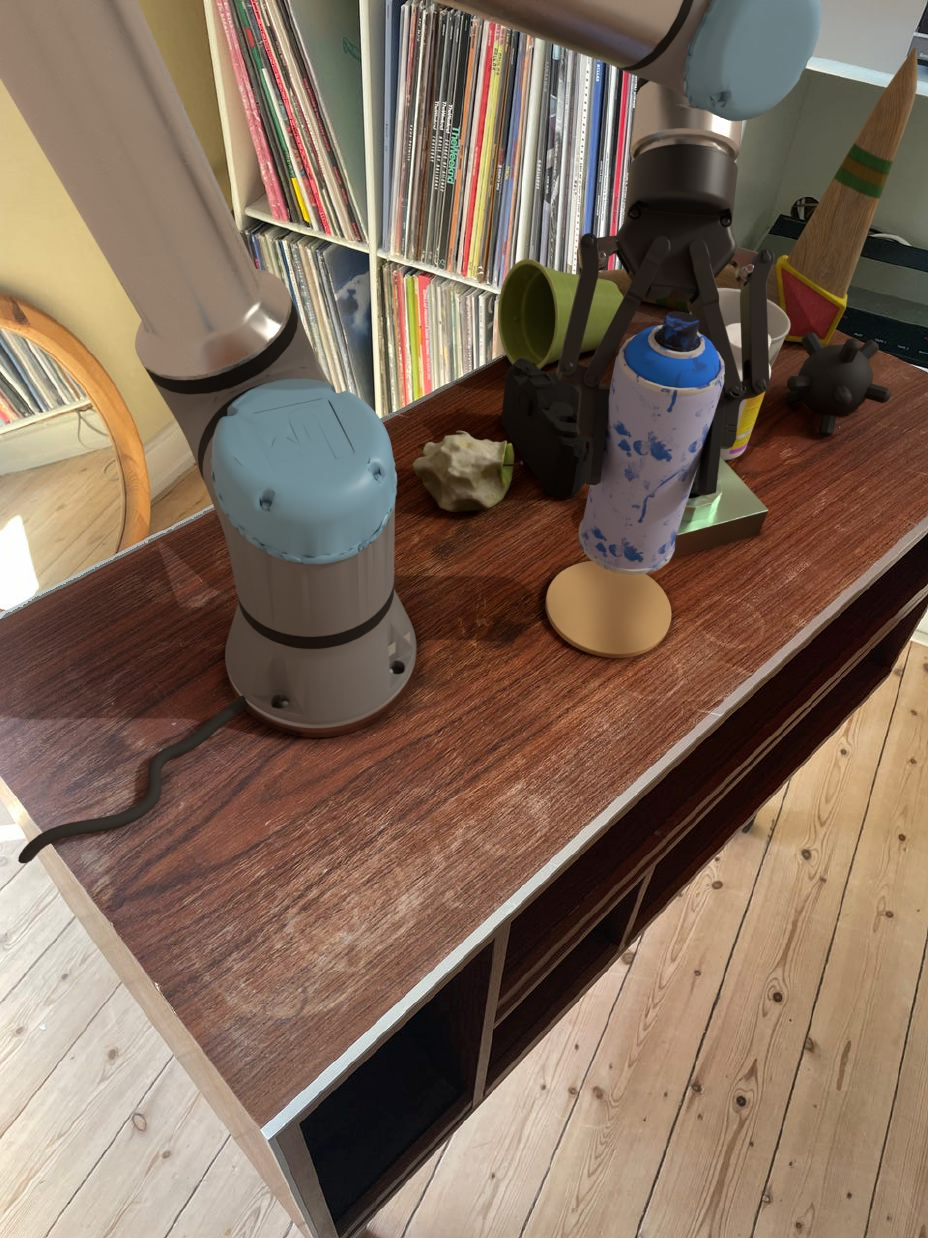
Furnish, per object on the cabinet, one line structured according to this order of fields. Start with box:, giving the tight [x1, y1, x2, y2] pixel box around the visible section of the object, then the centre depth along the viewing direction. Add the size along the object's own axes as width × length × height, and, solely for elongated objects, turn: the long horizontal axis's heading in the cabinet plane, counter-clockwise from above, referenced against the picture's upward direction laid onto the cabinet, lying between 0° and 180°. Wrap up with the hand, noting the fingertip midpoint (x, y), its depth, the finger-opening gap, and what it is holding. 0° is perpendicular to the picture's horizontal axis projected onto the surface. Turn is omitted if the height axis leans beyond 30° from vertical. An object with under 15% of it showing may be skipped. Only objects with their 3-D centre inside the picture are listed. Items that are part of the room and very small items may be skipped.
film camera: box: [500, 359, 610, 500], centre depth 93 cm, size 15×10×9 cm, turn 22°
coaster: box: [545, 560, 672, 659], centre depth 82 cm, size 11×11×1 cm
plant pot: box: [497, 258, 623, 371], centre depth 105 cm, size 12×12×11 cm
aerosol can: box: [577, 310, 725, 575], centre depth 68 cm, size 8×8×20 cm
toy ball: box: [784, 332, 892, 438], centre depth 99 cm, size 11×11×12 cm
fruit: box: [412, 430, 524, 513], centre depth 89 cm, size 9×9×8 cm
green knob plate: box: [670, 457, 770, 560], centre depth 89 cm, size 11×9×5 cm
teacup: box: [689, 288, 790, 368], centre depth 103 cm, size 14×11×8 cm
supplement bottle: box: [720, 323, 772, 461], centre depth 94 cm, size 7×7×13 cm
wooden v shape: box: [598, 46, 919, 346], centre depth 108 cm, size 22×41×6 cm
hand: (649, 488), depth 67 cm, fingers closed on aerosol can, 7 cm apart
